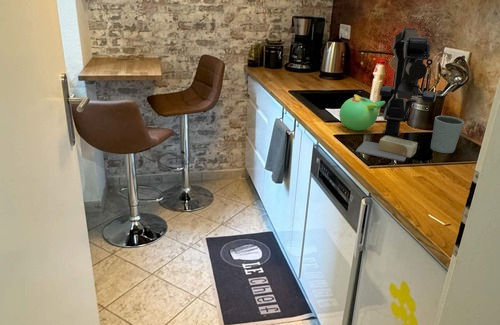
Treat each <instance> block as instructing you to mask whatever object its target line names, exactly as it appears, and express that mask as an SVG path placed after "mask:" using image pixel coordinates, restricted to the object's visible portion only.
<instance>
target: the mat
mask: <svg viewBox="0 0 500 325" xmlns="http://www.w3.org/2000/svg"><path fill="white" fill-rule="evenodd" d="M379 143H380V142H374V141H373V142H372V141H368V140H364V141H363V142H362V143H361V144H360V146H358V148H356V150H355V152H356V153H360V154H365V155H371V156H375V157H380V158H385V159H389V160H393V161H394V160H395V161H399V162H405V161H406V159H407V158H408V157H406V156H402V155H398V154H394V153H390V152H386V151H382V150H379Z"/></svg>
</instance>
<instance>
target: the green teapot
mask: <svg viewBox="0 0 500 325" xmlns="http://www.w3.org/2000/svg"><path fill="white" fill-rule="evenodd" d="M385 104H386V101H385V100H381V101H377V102H374V101H373V100H371V99H369V98H367V97H364V96H360V95H358V94H354V95H353V97H350V98H349V99H347V100H345V101H344V103H343V104H342V105H341V107H340V109H339V115H338V116H339V120H340V122H341V124H342V125H343V126H344V127H346V128H347V129H349V130H353V131H357V132H358V131H359V132H360V131H365V130H367V129H369V128H371V127H372V126H373V125H374V124H375V123H376V121H377V119H378V115H379V109H381V108H382V107H383V106H384V105H385Z"/></svg>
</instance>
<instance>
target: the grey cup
mask: <svg viewBox="0 0 500 325" xmlns="http://www.w3.org/2000/svg"><path fill="white" fill-rule="evenodd" d="M464 124H465V121H464V120H463V119H461V118H459V117H456V116H450V115H449V116H448V115H438V116H435V117H434V122H433V129H432V138H431V140H430V141H431V142H430V149H431V150H432V151H434V152H437V153H441V154H453V153H454V152H455V150H456V147H457V143H458V142H459V138H460V134H461V132H462V130H463V128H464Z"/></svg>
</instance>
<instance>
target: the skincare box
mask: <svg viewBox="0 0 500 325" xmlns="http://www.w3.org/2000/svg"><path fill="white" fill-rule="evenodd" d="M378 143H379V150H382V151H386V152H390V153H394V154H398V155H402V156H406V157H407V158H412V157H414V155H415V154H416V153H417V149H418V142H417V141H412V140H407V139H402V138H400V137H399V138H398V137H396V136H390V135H384V136H383V137H381V138H380V139H379V142H378Z"/></svg>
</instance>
